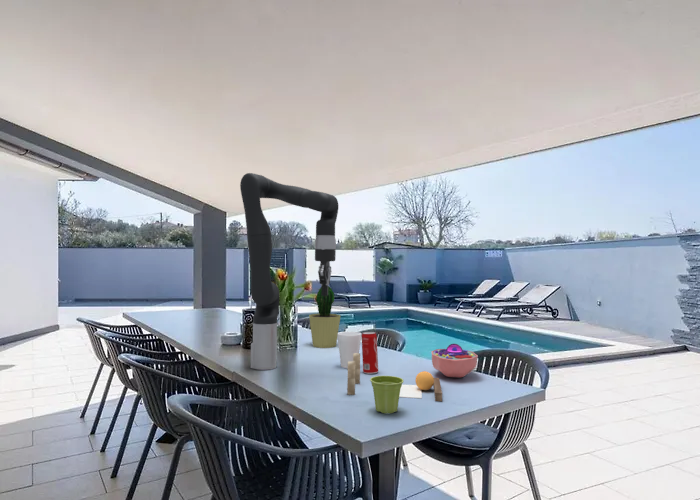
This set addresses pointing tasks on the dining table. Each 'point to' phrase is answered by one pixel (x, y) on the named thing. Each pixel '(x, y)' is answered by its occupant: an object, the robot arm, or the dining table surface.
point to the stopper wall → (437, 389)
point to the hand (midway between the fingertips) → (324, 295)
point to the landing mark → (410, 391)
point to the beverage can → (369, 352)
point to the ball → (424, 380)
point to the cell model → (454, 361)
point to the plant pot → (386, 393)
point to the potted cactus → (324, 322)
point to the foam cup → (348, 346)
